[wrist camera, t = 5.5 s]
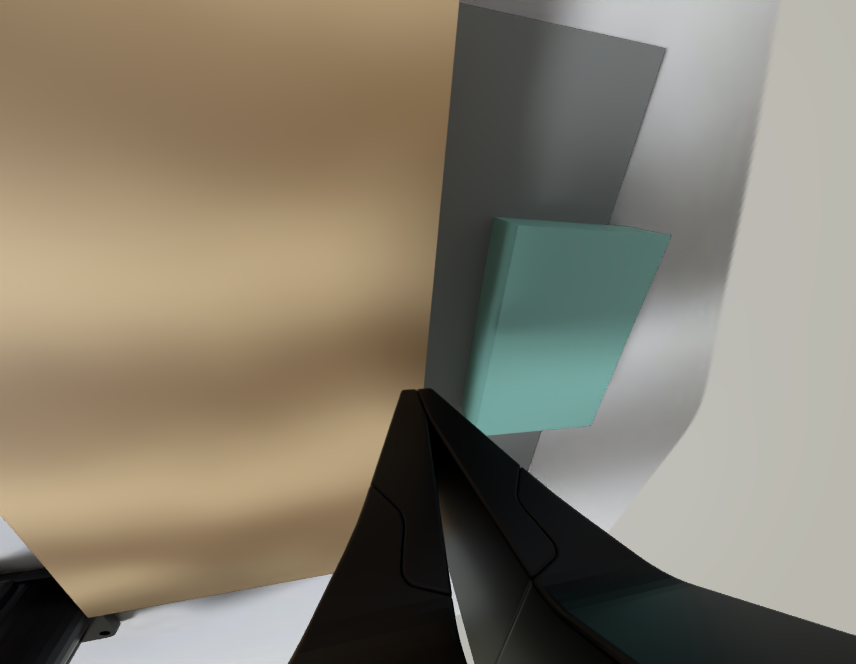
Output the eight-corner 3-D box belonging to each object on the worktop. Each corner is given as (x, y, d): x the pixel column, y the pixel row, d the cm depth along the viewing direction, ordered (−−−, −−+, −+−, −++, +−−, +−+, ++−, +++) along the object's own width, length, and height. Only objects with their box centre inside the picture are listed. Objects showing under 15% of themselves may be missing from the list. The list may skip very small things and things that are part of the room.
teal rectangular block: (474, 436, 14) (461, 406, 16) (590, 425, 15) (566, 399, 17) (518, 225, 10) (493, 216, 12) (671, 235, 11) (629, 226, 13)
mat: (525, 467, 19) (527, 471, 19) (397, 483, 18) (398, 487, 17) (657, 51, 10) (665, 48, 10) (423, 0, 9) (426, -5, 8)
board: (397, 483, 18) (407, 560, 14) (149, 514, 15) (88, 617, 12) (423, 0, 9) (469, -111, 5) (-179, -129, 6) (-886, -524, 3)
